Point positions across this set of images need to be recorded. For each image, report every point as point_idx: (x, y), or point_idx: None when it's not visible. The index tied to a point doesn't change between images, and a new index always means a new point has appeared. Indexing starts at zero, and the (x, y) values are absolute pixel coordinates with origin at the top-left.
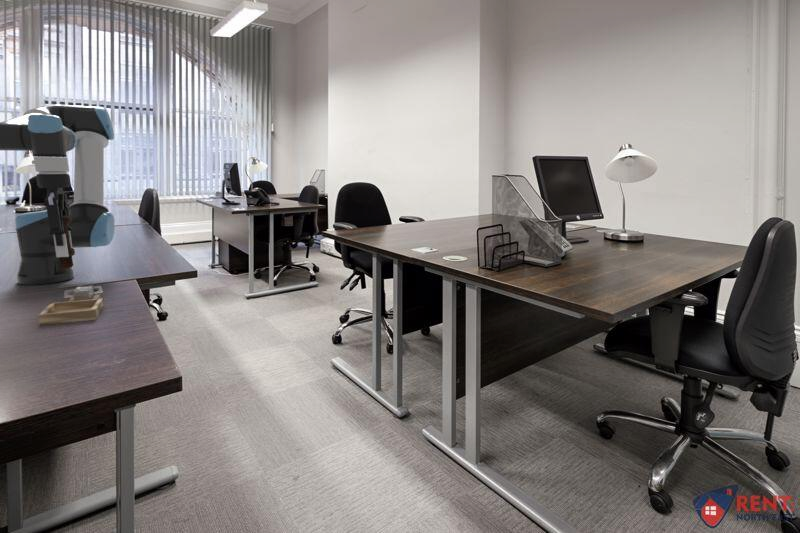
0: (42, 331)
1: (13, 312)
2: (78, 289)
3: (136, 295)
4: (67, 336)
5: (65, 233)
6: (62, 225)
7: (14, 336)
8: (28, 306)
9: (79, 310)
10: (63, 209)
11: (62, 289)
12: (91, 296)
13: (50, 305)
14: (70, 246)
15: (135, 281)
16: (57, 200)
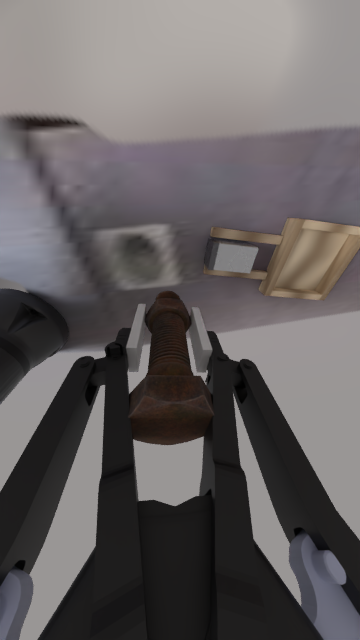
0: (343, 288)
1: (226, 327)
2: (235, 266)
3: (234, 139)
4: None
5: (185, 350)
6: (226, 379)
7: (335, 309)
8: (205, 318)
9: (351, 253)
10: (218, 465)
11: (111, 294)
12: (233, 242)
13: (280, 294)
14: (168, 315)
15: (58, 135)
16: (281, 583)
